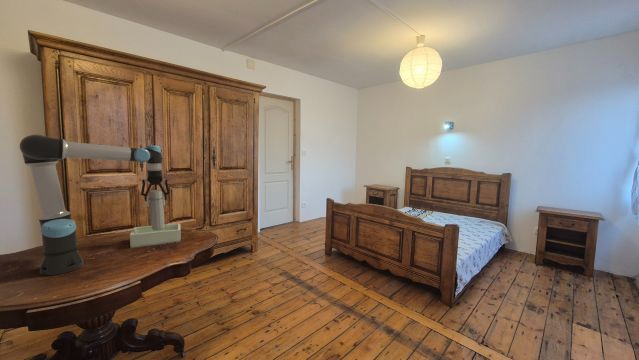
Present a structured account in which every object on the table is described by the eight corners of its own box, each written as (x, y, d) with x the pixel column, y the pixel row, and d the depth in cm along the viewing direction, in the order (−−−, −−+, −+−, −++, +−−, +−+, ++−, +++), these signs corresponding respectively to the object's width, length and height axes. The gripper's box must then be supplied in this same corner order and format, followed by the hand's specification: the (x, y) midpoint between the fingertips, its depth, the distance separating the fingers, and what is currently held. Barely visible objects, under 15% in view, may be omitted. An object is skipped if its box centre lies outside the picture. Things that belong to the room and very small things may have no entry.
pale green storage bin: (130, 247, 156) (129, 234, 155) (134, 239, 171) (134, 227, 170) (180, 241, 169) (180, 229, 168) (180, 234, 183) (180, 223, 182)
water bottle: (167, 227, 172) (165, 189, 169) (159, 231, 164) (156, 191, 161) (154, 226, 173) (152, 189, 170) (145, 230, 165) (143, 191, 162)
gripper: (133, 170, 156) (135, 208, 159) (173, 170, 166) (174, 205, 169) (135, 169, 163) (137, 205, 165) (173, 169, 173) (174, 203, 175)
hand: (156, 205), depth 167 cm, fingers closed on water bottle, 8 cm apart
